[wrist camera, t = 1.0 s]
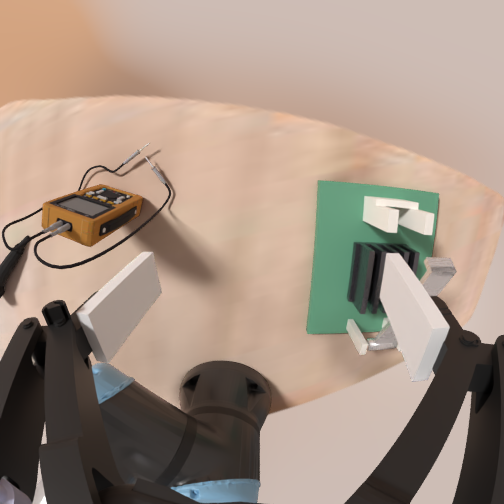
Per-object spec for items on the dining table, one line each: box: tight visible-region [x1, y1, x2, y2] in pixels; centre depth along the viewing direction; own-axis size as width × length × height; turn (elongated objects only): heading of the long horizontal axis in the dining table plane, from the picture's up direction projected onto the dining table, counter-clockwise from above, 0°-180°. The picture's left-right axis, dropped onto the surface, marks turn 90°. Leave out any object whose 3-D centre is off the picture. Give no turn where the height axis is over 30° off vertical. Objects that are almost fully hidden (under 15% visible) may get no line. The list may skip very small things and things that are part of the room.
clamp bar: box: [366, 257, 456, 351], centre depth 27 cm, size 17×4×2 cm
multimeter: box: [2, 143, 171, 269], centre depth 25 cm, size 15×10×20 cm
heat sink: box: [347, 242, 420, 314], centre depth 34 cm, size 8×8×5 cm
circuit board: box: [306, 180, 439, 355], centre depth 33 cm, size 21×18×9 cm
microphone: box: [0, 236, 29, 298], centre depth 38 cm, size 5×5×19 cm
